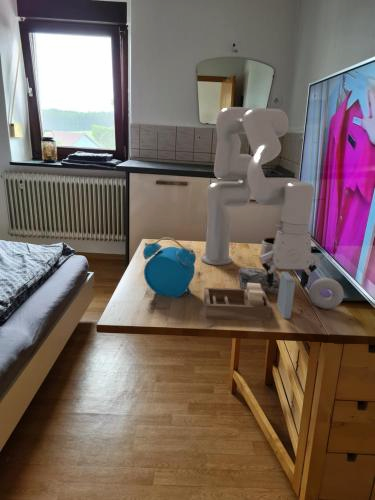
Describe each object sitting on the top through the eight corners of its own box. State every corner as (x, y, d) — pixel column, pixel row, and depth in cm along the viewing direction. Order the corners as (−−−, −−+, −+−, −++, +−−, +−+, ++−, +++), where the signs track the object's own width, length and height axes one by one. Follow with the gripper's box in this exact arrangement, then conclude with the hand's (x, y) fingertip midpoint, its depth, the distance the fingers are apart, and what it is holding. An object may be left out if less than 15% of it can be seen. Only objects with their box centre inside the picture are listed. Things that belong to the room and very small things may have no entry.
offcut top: (246, 290, 114) (247, 282, 113) (259, 290, 114) (260, 283, 113) (248, 299, 107) (249, 292, 107) (262, 300, 107) (262, 293, 106)
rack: (203, 302, 118) (204, 287, 116) (261, 304, 118) (263, 289, 117) (205, 321, 106) (206, 305, 105) (269, 323, 107) (271, 307, 105)
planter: (257, 258, 159) (259, 236, 156) (282, 259, 160) (285, 237, 157) (262, 267, 149) (265, 244, 146) (290, 268, 150) (293, 245, 147)
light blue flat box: (276, 308, 116) (281, 271, 112) (283, 308, 116) (287, 272, 112) (282, 321, 109) (288, 282, 105) (289, 321, 109) (295, 282, 105)
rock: (231, 291, 125) (238, 265, 121) (235, 281, 133) (242, 256, 129) (277, 307, 122) (287, 280, 118) (279, 296, 130) (288, 270, 126)
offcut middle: (243, 296, 115) (244, 289, 114) (256, 297, 115) (257, 289, 114) (249, 308, 108) (250, 300, 107) (263, 308, 108) (264, 301, 107)
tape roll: (306, 307, 118) (311, 277, 114) (306, 302, 121) (311, 273, 118) (340, 313, 115) (346, 283, 111) (340, 308, 118) (346, 279, 114)
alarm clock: (199, 293, 124) (202, 234, 118) (188, 306, 115) (192, 243, 108) (152, 284, 129) (153, 227, 123) (138, 296, 120) (138, 235, 113)
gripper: (265, 230, 101) (258, 289, 106) (330, 232, 101) (320, 292, 106) (260, 223, 108) (254, 279, 113) (320, 225, 108) (311, 281, 113)
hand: (286, 285), depth 110 cm, fingers open, 9 cm apart
